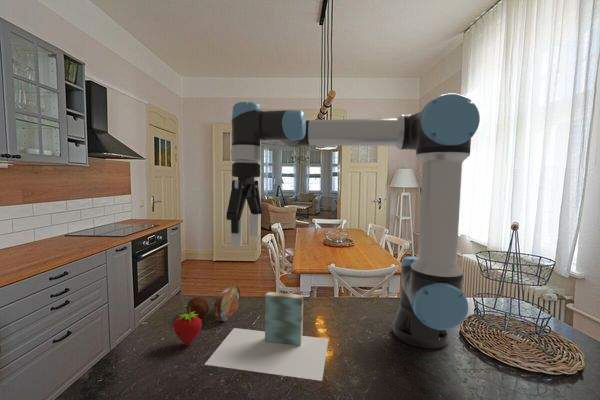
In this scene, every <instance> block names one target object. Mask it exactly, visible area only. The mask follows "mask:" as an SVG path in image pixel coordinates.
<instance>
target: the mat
mask: <svg viewBox="0 0 600 400" xmlns="http://www.w3.org/2000/svg"><path fill="white" fill-rule="evenodd" d="M329 339H330V338H326V337H325V338H324V337H316V336H308V335H302V344H301V346H300V345H291V344H283V343H275V342H266V341H265V330H264V331H263V330H255V329H246V328H237V327H233V329H232V330H231V331H230V332H229V333H228V335H227V336H226V338H224V340H223V341H222V342H221V344H220V345H219V346H218V347H217V348H216V349H215V351H214V352H213V353H212V354H211V356H210V357H209V358H208V359H207V360H206V362H205V363H204V365H205V366H209V367H210V366H211V367H218V368H227V369H233V370H239V371H240V370H241V371H247V372H255V373H262V374H269V375H270V374H271V375H276V376H277V375H278V376H282V377H283V376H284V377H289V378H291V377H292V378H296V379H297V378H298V379H303V380H304V379H306V380H313V381H318V382H319V381H320V382H323V376H324V371H325V366H326V365H325V364H326V358H327V353H328V345H329Z"/></svg>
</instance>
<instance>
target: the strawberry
mask: <svg viewBox="0 0 600 400" xmlns="http://www.w3.org/2000/svg"><path fill="white" fill-rule="evenodd" d="M194 312H195V311H194ZM194 312H191V313H189V314H188V313H182V314H178V315H177V316H178V317H177V318H176V319H175V320H174V321H173V325H172V327H173V330H174V334H175V335H176V337H178V339H179V340H180V341H181V342H182V343H183V344H184V345H186V346H190V345H191V344H192V343H193V341H195V339H196V338H197V337H198V336H199V334H200V333H201V330H202V328H203V327H202V326H203V323H202V319H200V318H199V317H197V316H196V315H198V314H193V313H194Z"/></svg>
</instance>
